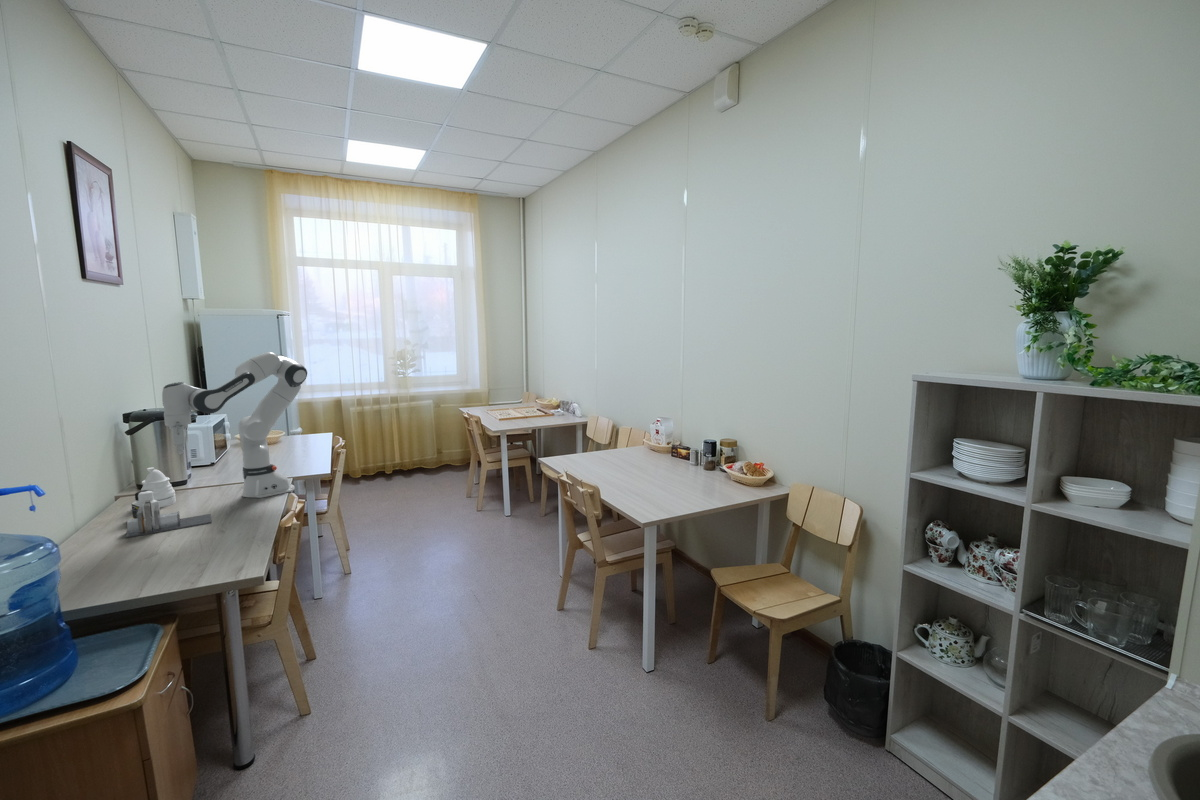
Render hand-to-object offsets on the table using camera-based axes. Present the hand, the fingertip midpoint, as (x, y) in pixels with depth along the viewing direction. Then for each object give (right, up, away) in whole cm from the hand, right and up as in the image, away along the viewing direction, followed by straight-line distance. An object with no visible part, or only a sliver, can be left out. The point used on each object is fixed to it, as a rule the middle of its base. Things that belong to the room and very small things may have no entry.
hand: (181, 452), depth 221 cm
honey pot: (-27, -27, +20) cm, 43 cm away
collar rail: (+1, -30, -7) cm, 31 cm away
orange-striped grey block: (-3, -30, -10) cm, 32 cm away
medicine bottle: (-17, -29, +2) cm, 34 cm away
